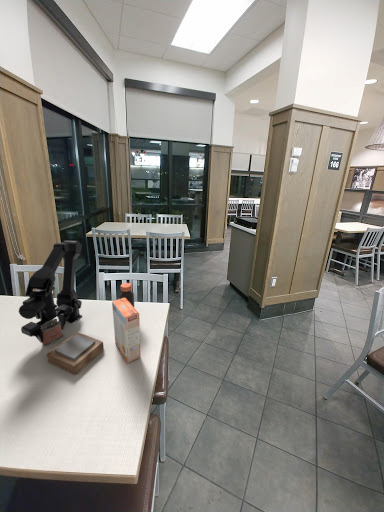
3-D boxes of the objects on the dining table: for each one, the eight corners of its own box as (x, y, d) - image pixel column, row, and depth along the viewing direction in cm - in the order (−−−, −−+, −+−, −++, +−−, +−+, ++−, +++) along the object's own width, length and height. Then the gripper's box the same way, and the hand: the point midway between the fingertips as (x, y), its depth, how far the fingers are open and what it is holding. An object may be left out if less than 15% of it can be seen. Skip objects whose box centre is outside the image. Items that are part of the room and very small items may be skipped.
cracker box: (141, 357, 89) (139, 312, 82) (127, 363, 86) (124, 317, 79) (128, 337, 100) (125, 296, 93) (114, 342, 96) (111, 300, 89)
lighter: (61, 334, 100) (57, 315, 96) (64, 337, 98) (61, 318, 95) (41, 344, 94) (36, 324, 90) (44, 347, 92) (40, 327, 88)
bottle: (136, 317, 114) (134, 282, 108) (133, 325, 108) (131, 288, 101) (123, 316, 114) (120, 281, 107) (119, 325, 108) (116, 288, 101)
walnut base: (78, 339, 97) (77, 330, 95) (103, 349, 92) (102, 339, 91) (48, 362, 85) (45, 351, 83) (75, 375, 80) (73, 364, 78)
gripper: (53, 289, 101) (58, 319, 106) (7, 310, 84) (16, 344, 89) (71, 295, 97) (75, 325, 102) (27, 318, 81) (35, 352, 86)
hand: (52, 335), depth 95 cm, fingers open, 9 cm apart
